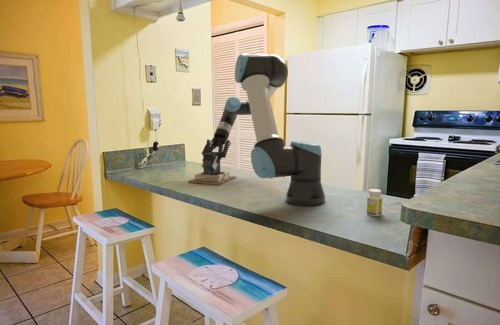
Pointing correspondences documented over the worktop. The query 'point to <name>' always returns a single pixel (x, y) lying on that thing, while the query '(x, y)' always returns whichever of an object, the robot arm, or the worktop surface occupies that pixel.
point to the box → (210, 163)
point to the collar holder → (212, 178)
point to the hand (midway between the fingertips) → (208, 167)
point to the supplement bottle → (374, 202)
